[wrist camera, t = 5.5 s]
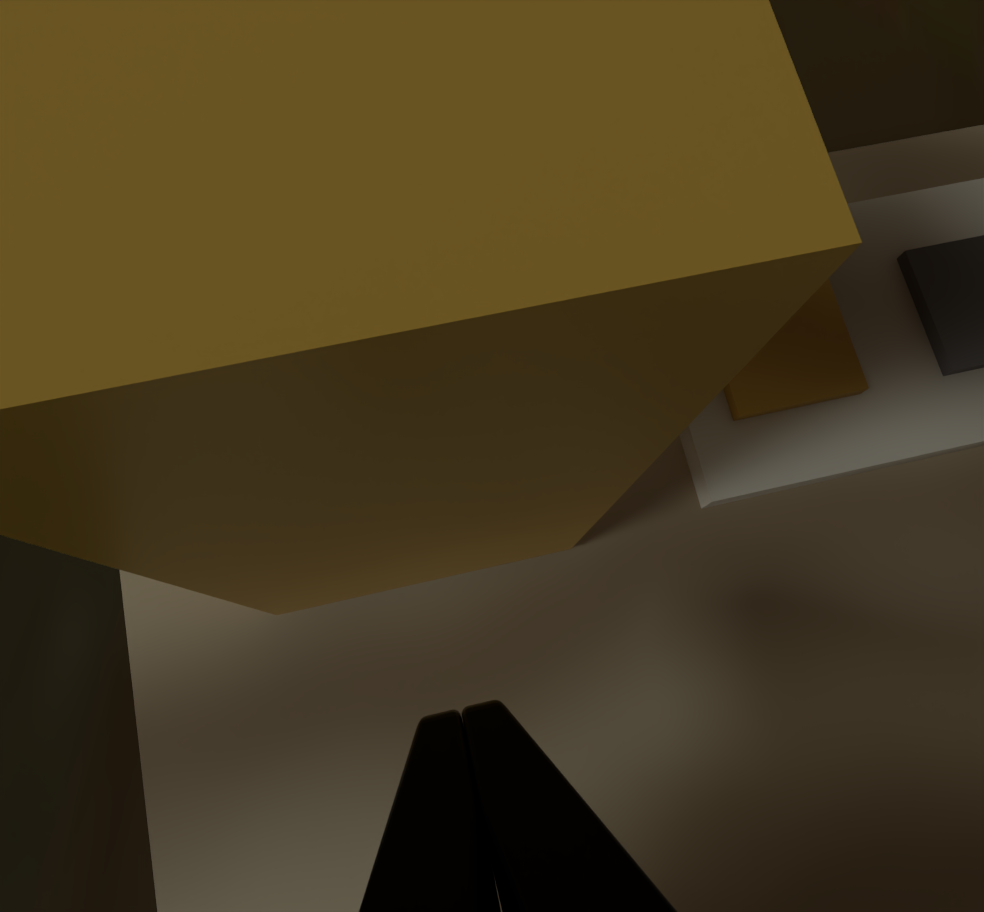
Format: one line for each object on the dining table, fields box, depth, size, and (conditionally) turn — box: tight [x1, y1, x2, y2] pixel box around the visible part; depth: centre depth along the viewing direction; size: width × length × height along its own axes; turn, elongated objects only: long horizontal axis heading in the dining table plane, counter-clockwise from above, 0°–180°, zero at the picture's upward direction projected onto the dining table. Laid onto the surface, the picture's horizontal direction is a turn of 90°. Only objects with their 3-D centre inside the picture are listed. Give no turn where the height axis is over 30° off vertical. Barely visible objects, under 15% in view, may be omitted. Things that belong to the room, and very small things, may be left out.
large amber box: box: [0, 0, 862, 615], centre depth 9 cm, size 4×5×10 cm
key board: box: [120, 125, 984, 912], centre depth 13 cm, size 16×28×4 cm, turn 103°
